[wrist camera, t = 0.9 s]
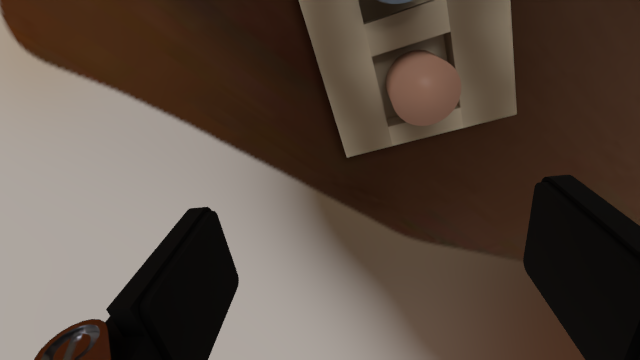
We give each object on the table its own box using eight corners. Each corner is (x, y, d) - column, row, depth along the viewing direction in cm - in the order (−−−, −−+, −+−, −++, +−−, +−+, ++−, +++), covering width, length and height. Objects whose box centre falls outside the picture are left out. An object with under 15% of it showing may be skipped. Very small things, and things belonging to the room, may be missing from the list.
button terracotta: (440, 41, 21) (456, 47, 18) (449, 100, 23) (465, 115, 20) (380, 60, 22) (384, 69, 19) (392, 115, 24) (398, 133, 21)
